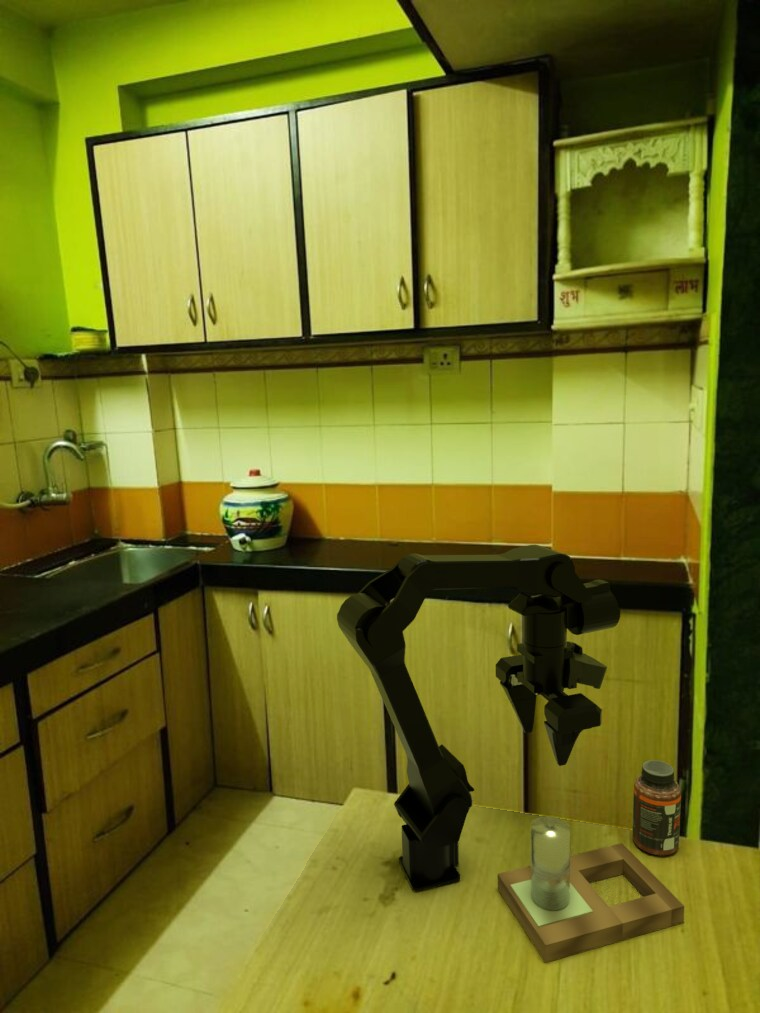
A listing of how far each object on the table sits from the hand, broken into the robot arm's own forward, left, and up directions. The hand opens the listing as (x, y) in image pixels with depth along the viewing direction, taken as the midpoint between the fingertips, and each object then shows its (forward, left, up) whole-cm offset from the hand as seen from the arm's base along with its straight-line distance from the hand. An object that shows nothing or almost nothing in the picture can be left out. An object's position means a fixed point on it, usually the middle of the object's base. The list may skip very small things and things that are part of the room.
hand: (544, 747), depth 97 cm
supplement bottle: (+13, -7, -13) cm, 20 cm away
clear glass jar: (-7, -14, -11) cm, 19 cm away
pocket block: (-2, -14, -13) cm, 19 cm away
